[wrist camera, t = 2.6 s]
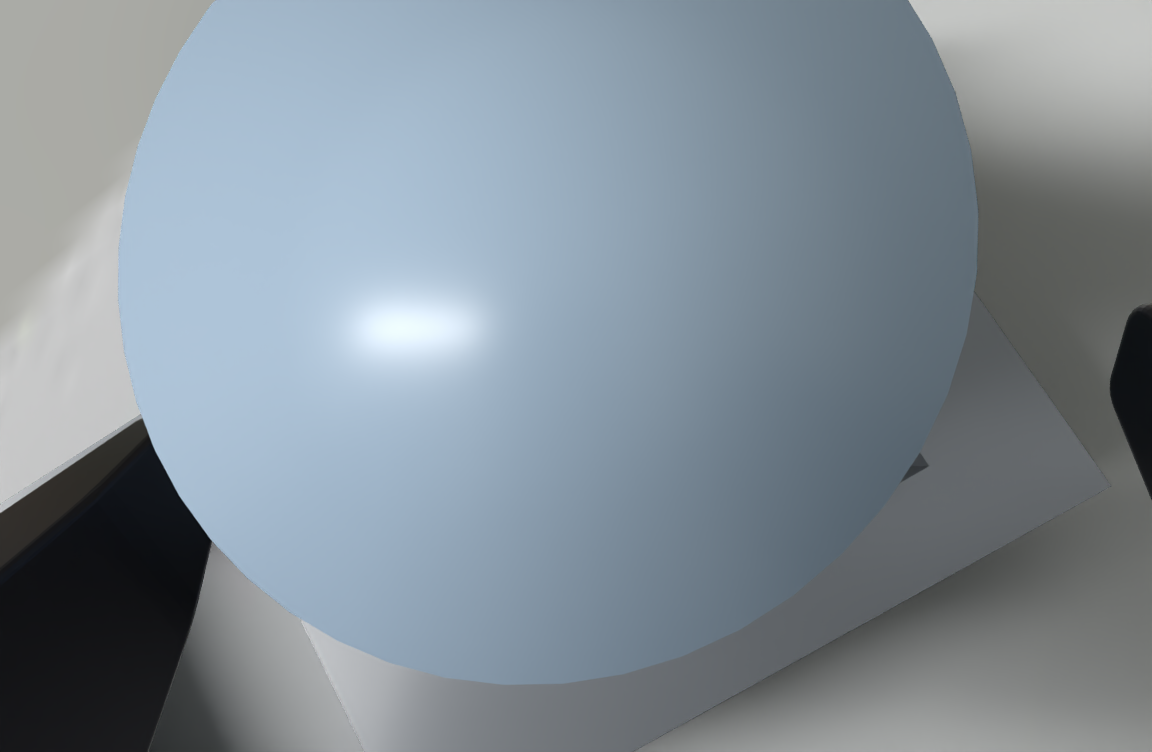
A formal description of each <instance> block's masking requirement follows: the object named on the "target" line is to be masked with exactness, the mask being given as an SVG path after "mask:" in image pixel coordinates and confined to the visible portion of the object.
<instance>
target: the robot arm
mask: <svg viewBox="0 0 1152 752" xmlns="http://www.w3.org/2000/svg"><path fill="white" fill-rule="evenodd" d="M1110 395H1111V400H1112V404H1113V407H1114V409H1115V412H1116V414H1117V417H1118V419H1119V421H1120V424H1121V426H1122V429H1123V431H1124V434H1125V436H1126V439H1127V441H1128V443H1129V446H1130V448H1131V451H1132V453H1133V456H1134V458H1135V460H1136V463H1137V465H1138V468H1139V470H1140V473H1141V475H1142V477H1143V480H1144V482H1145V485H1146V487H1147V490H1148V492H1149V495H1150V497H1151V499H1152V303H1150V304H1143V305H1141V306H1139V307H1137V308H1136V309H1134V310H1133V311H1132V313H1131V314H1130V315H1129V318H1128V320H1127V323H1126V326H1125V330H1124V333H1123V337H1122V340H1121V344H1120V347H1119V350H1118V354H1117V357H1116V361H1115V364H1114V368H1113V371H1112V375H1111V380H1110ZM211 543H212V540H211V539H210V538H209V536H208V535H207V534H206V532H205V531H204V530H203V528H202V527H201V525H200V524H199V523H198V521H197V520H196V518H195V517H194V516H193V514H192V513H191V511H190V510H189V509H188V507H187V506H186V505H185V503H184V502H183V500H182V499H181V498H180V496H179V494H178V492H177V491H176V489H175V487H174V485H173V483H172V481H171V479H170V477H169V476H168V474H167V472H166V470H165V468H164V466H163V464H162V463H161V461H160V459H159V457H158V455H157V453H156V451H155V449H154V447H153V444H152V441H151V439H150V436H149V434H148V431H147V428H146V426H145V423H144V420H143V418H141V419H139V420H137V421H135V422H134V423H132V424H131V425H129V426H128V427H126V428H125V429H123V430H122V431H121V432H119V433H118V434H116V435H115V436H113V437H112V438H110V439H109V440H107V441H106V442H104V443H103V444H101V445H100V446H98V447H97V448H95V449H94V450H92V451H91V452H89V453H88V454H87V455H85V456H84V457H82V458H81V459H79V460H78V461H76V462H75V463H73V464H72V465H70V466H69V467H67V468H66V469H64V470H63V471H61V472H60V473H58V474H57V475H55V476H54V477H53V478H51V479H50V480H48V481H47V482H45V483H44V484H42V485H41V486H39V487H38V488H36V489H35V490H33V491H32V492H30V493H29V494H27V495H26V496H24V497H23V498H21V499H20V500H18V501H17V502H16V503H14V504H13V505H11V506H10V507H8V508H7V509H5V510H4V511H2V512H1V513H0V752H149V749H150V746H151V743H152V740H153V737H154V734H155V732H156V729H157V726H158V723H159V720H160V717H161V714H162V711H163V708H164V705H165V702H166V700H167V697H168V694H169V691H170V688H171V685H172V682H173V679H174V676H175V673H176V670H177V668H178V665H179V662H180V659H181V656H182V653H183V650H184V647H185V644H186V641H187V638H188V635H189V632H190V628H191V625H192V622H193V618H194V615H195V611H196V607H197V603H198V599H199V595H200V591H201V586H202V582H203V578H204V573H205V569H206V565H207V560H208V556H209V552H210V547H211Z"/></svg>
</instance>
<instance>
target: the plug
mask: <svg viewBox="0 0 1152 752" xmlns="http://www.w3.org/2000/svg"><path fill="white" fill-rule="evenodd" d="M977 251H978V203H977V195H976V187H975V179H974V170H973V162H972V154H971V148H970V145H969V141H968V137H967V134H966V130H965V126H964V123H963V119H962V115H961V112H960V108H959V104H958V101H957V97H956V93H955V91H954V88H953V86H952V84H951V82H950V79H949V77H948V75H947V72H946V70H945V68H944V65H943V63H942V61H941V59H940V56H939V54H938V52H937V49H936V47H935V45H934V43H933V40H932V38H931V37H930V35H929V33H928V32H927V30H926V28H925V27H924V25H923V24H922V22H921V20H920V19H919V17H918V16H917V14H916V12H915V11H914V9H913V8H912V6H911V4H910V3H909V1H908V0H215V1H214V2H213V4H212V5H211V6H210V7H209V8H208V10H207V11H206V13H205V14H204V16H203V17H202V19H201V21H200V22H199V23H198V25H197V26H196V28H195V29H194V31H193V32H192V34H191V35H190V37H189V39H188V40H187V41H186V43H185V44H184V46H183V48H182V49H181V51H180V52H179V54H178V56H177V58H176V60H175V62H174V64H173V66H172V68H171V70H170V72H169V74H168V76H167V77H166V79H165V81H164V83H163V85H162V87H161V89H160V91H159V93H158V95H157V97H156V99H155V102H154V105H153V107H152V110H151V113H150V115H149V118H148V121H147V123H146V126H145V129H144V131H143V134H142V137H141V139H140V142H139V145H138V147H137V152H136V156H135V160H134V164H133V168H132V172H131V176H130V180H129V184H128V188H127V192H126V196H125V203H124V210H123V218H122V226H121V234H120V242H119V273H118V301H119V310H120V319H121V328H122V337H123V346H124V353H125V357H126V361H127V365H128V369H129V373H130V377H131V382H132V386H133V390H134V394H135V398H136V402H137V405H138V407H139V410H140V412H141V415H142V418H143V420H144V423H145V426H146V428H147V431H148V434H149V436H150V439H151V441H152V444H153V447H154V449H155V451H156V453H157V455H158V457H159V459H160V461H161V463H162V464H163V466H164V468H165V470H166V472H167V474H168V476H169V477H170V479H171V481H172V483H173V485H174V487H175V489H176V491H177V492H178V494H179V496H180V498H181V499H182V500H183V502H184V503H185V505H186V506H187V507H188V509H189V510H190V511H191V513H192V514H193V516H194V517H195V518H196V520H197V521H198V523H199V524H200V525H201V527H202V528H203V530H204V531H205V532H206V534H207V535H208V536H209V538H210V539H211V540H212V541H213V542H214V543H215V545H216V546H217V547H218V548H219V549H220V550H221V551H222V552H223V553H224V554H225V555H226V556H227V557H228V558H229V559H230V560H231V561H232V562H233V564H234V565H235V566H236V567H237V568H238V569H239V570H240V571H241V572H242V573H243V574H244V575H245V576H246V577H247V578H248V579H249V580H250V581H251V582H253V583H254V584H255V585H256V586H258V587H259V588H260V589H261V590H263V591H264V592H265V593H266V594H268V595H269V596H270V597H271V598H273V599H274V600H275V601H276V602H278V603H279V604H280V605H281V606H283V607H284V608H285V609H286V610H288V611H289V612H290V613H292V614H293V615H295V616H297V617H298V618H300V619H302V620H303V621H305V622H307V623H308V624H310V625H312V626H313V627H315V628H317V629H318V630H320V631H322V632H323V633H325V634H327V635H328V636H330V637H332V638H334V639H335V640H337V641H339V642H341V643H344V644H346V645H348V646H351V647H353V648H355V649H358V650H360V651H363V652H365V653H367V654H370V655H372V656H374V657H377V658H379V659H381V660H384V661H386V662H389V663H392V664H395V665H399V666H403V667H407V668H410V669H414V670H418V671H422V672H425V673H429V674H433V675H437V676H440V677H444V678H451V679H459V680H468V681H476V682H484V683H492V684H500V685H524V684H565V683H571V682H578V681H584V680H590V679H597V678H603V677H609V676H616V675H622V674H626V673H629V672H633V671H636V670H639V669H642V668H646V667H649V666H652V665H656V664H659V663H662V662H665V661H669V660H672V659H675V658H679V657H682V656H684V655H687V654H689V653H691V652H693V651H695V650H697V649H699V648H702V647H704V646H706V645H708V644H710V643H712V642H715V641H717V640H719V639H721V638H723V637H725V636H728V635H730V634H732V633H734V632H736V631H738V630H740V629H742V628H743V627H745V626H747V625H748V624H750V623H751V622H753V621H754V620H756V619H757V618H759V617H761V616H762V615H764V614H765V613H767V612H768V611H770V610H772V609H773V608H775V607H776V606H778V605H779V604H781V603H782V602H784V601H786V600H787V599H789V598H790V597H792V596H793V595H794V594H796V593H797V592H798V591H799V590H800V589H801V588H803V587H804V586H805V585H806V584H807V583H808V582H810V581H811V580H812V579H813V578H814V577H815V576H817V575H818V574H819V573H820V572H821V571H822V570H824V569H825V568H826V567H827V566H828V565H829V564H831V563H832V562H833V561H834V560H835V559H836V558H838V557H839V556H840V555H841V554H842V553H843V552H844V551H845V550H846V549H847V548H848V546H849V545H850V544H851V543H852V542H853V541H854V540H855V538H856V537H857V536H858V535H859V534H860V533H861V532H862V531H863V529H864V528H865V527H866V526H867V525H868V524H869V523H870V522H871V520H872V519H873V518H874V517H875V516H876V515H877V514H878V512H879V511H880V510H881V509H882V508H883V507H884V506H885V504H886V503H887V501H888V500H889V498H890V497H891V495H892V494H893V492H894V491H895V489H896V488H897V486H898V485H899V483H900V482H901V480H902V479H903V477H904V476H905V474H906V473H907V471H908V470H909V468H910V467H911V465H912V464H913V462H914V461H915V459H916V458H917V456H918V454H919V453H920V451H921V449H922V447H923V445H924V443H925V441H926V439H927V437H928V434H929V432H930V430H931V428H932V426H933V424H934V422H935V420H936V418H937V416H938V414H939V412H940V409H941V407H942V405H943V403H944V401H945V399H946V397H947V395H948V392H949V389H950V385H951V382H952V379H953V376H954V373H955V370H956V367H957V363H958V360H959V357H960V354H961V351H962V348H963V344H964V341H965V338H966V335H967V330H968V324H969V318H970V312H971V306H972V300H973V294H974V288H975V282H976V276H977Z"/></svg>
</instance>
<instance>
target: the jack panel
mask: <svg viewBox="0 0 1152 752" xmlns="http://www.w3.org/2000/svg"><path fill="white" fill-rule="evenodd" d="M141 418H142V415H141V414H140V415H139V416H137V417H136V418H134V419H132V420H131V421H129V422H128V423H126V424H125V425H123V426H121V427H120V428H118V429H117V430H115V431H114V432H112V433H111V434H109V435H107V436H106V437H104V438H103V439H101V440H100V441H98V442H96V443H95V444H93V445H92V446H90V447H89V448H87V449H85V450H84V451H82V452H81V453H79V454H78V455H76V456H74V457H73V458H71V459H70V460H68V461H67V462H65V463H63V464H62V465H60V466H59V467H57V468H56V469H54V470H53V471H51V472H49V473H48V474H46V475H45V476H43V477H42V478H40V479H38V480H37V481H35V482H34V483H32V484H31V485H29V486H27V487H26V488H24V489H23V490H21V491H20V492H18V493H16V494H15V495H13V496H12V497H10V498H9V499H7V500H5V501H4V502H2V503H1V504H0V513H1V512H2V511H4V510H5V509H7V508H8V507H10V506H11V505H13V504H14V503H16V502H17V501H18V500H20V499H21V498H23V497H24V496H26V495H27V494H29V493H30V492H32V491H33V490H35V489H36V488H38V487H39V486H41V485H42V484H44V483H45V482H47V481H48V480H50V479H51V478H53V477H54V476H55V475H57V474H58V473H60V472H61V471H63V470H64V469H66V468H67V467H69V466H70V465H72V464H73V463H75V462H76V461H78V460H79V459H81V458H82V457H84V456H85V455H87V454H88V453H89V452H91V451H92V450H94V449H95V448H97V447H98V446H100V445H101V444H103V443H104V442H106V441H107V440H109V439H110V438H112V437H113V436H115V435H116V434H118V433H119V432H121V431H122V430H123V429H125V428H126V427H128V426H129V425H131V424H132V423H134V422H135V421H137V420H139V419H141ZM1109 487H1111V485H1110V483H1109V482H1108V480H1107V479H1106V478H1105V476H1104V475H1103V473H1102V472H1101V470H1100V469H1099V468H1098V466H1097V465H1096V463H1095V462H1094V461H1093V459H1092V458H1091V456H1090V455H1089V453H1088V452H1087V451H1086V449H1085V448H1084V446H1083V445H1082V443H1081V442H1080V441H1079V439H1078V438H1077V436H1076V435H1075V434H1074V432H1073V431H1072V429H1071V428H1070V426H1069V425H1068V424H1067V422H1066V421H1065V419H1064V418H1063V417H1062V415H1061V414H1060V412H1059V411H1058V409H1057V408H1056V407H1055V405H1054V404H1053V402H1052V401H1051V399H1050V398H1049V397H1048V395H1047V394H1046V392H1045V391H1044V390H1043V388H1042V387H1041V385H1040V384H1039V382H1038V381H1037V380H1036V378H1035V377H1034V375H1033V374H1032V372H1031V371H1030V370H1029V368H1028V367H1027V365H1026V364H1025V363H1024V361H1023V360H1022V358H1021V357H1020V355H1019V354H1018V353H1017V351H1016V350H1015V348H1014V347H1013V346H1012V344H1011V343H1010V341H1009V340H1008V338H1007V337H1006V336H1005V334H1004V333H1003V331H1002V330H1001V328H1000V327H999V326H998V324H997V323H996V321H995V320H994V319H993V317H992V316H991V314H990V313H989V311H988V310H987V309H986V307H985V306H984V304H983V303H982V301H981V300H980V299H979V297H978V296H977V294H976V293H975V292H974V294H973V300H972V306H971V312H970V318H969V324H968V330H967V335H966V338H965V341H964V344H963V348H962V351H961V354H960V357H959V360H958V363H957V367H956V370H955V373H954V376H953V379H952V382H951V385H950V389H949V392H948V395H947V397H946V399H945V401H944V403H943V405H942V407H941V409H940V412H939V414H938V416H937V418H936V420H935V422H934V424H933V426H932V428H931V430H930V432H929V434H928V437H927V439H926V441H925V443H924V445H923V447H922V449H921V451H920V453H919V454H918V456H917V458H916V459H915V461H914V462H913V464H912V465H911V467H910V468H909V470H908V471H907V473H906V474H905V476H904V477H903V479H902V480H901V482H900V483H899V485H898V486H897V488H896V489H895V491H894V492H893V494H892V495H891V497H890V498H889V500H888V501H887V503H886V504H885V506H884V507H883V508H882V509H881V510H880V511H879V512H878V514H877V515H876V516H875V517H874V518H873V519H872V520H871V522H870V523H869V524H868V525H867V526H866V527H865V528H864V529H863V531H862V532H861V533H860V534H859V535H858V536H857V537H856V538H855V540H854V541H853V542H852V543H851V544H850V545H849V546H848V548H847V549H846V550H845V551H844V552H843V553H842V554H841V555H840V556H839V557H838V558H836V559H835V560H834V561H833V562H832V563H831V564H829V565H828V566H827V567H826V568H825V569H824V570H822V571H821V572H820V573H819V574H818V575H817V576H815V577H814V578H813V579H812V580H811V581H810V582H808V583H807V584H806V585H805V586H804V587H803V588H801V589H800V590H799V591H798V592H797V593H796V594H794V595H793V596H792V597H790V598H789V599H787V600H786V601H784V602H782V603H781V604H779V605H778V606H776V607H775V608H773V609H772V610H770V611H768V612H767V613H765V614H764V615H762V616H761V617H759V618H757V619H756V620H754V621H753V622H751V623H750V624H748V625H747V626H745V627H743V628H742V629H740V630H738V631H736V632H734V633H732V634H730V635H728V636H725V637H723V638H721V639H719V640H717V641H715V642H712V643H710V644H708V645H706V646H704V647H702V648H699V649H697V650H695V651H693V652H691V653H689V654H687V655H684V656H682V657H679V658H675V659H672V660H669V661H665V662H662V663H659V664H656V665H652V666H649V667H646V668H642V669H639V670H636V671H633V672H629V673H626V674H622V675H616V676H609V677H603V678H597V679H590V680H584V681H578V682H571V683H565V684H524V685H500V684H492V683H484V682H476V681H468V680H459V679H451V678H444V677H440V676H437V675H433V674H429V673H425V672H422V671H418V670H414V669H410V668H407V667H403V666H399V665H395V664H392V663H389V662H386V661H384V660H381V659H379V658H377V657H374V656H372V655H370V654H367V653H365V652H363V651H360V650H358V649H355V648H353V647H351V646H348V645H346V644H344V643H341V642H339V641H337V640H335V639H334V638H332V637H330V636H328V635H327V634H325V633H323V632H322V631H320V630H318V629H317V628H315V627H313V626H312V625H310V624H308V623H307V622H305V621H303V620H302V619H300V620H301V622H302V624H303V627H304V629H305V631H306V633H307V635H308V637H309V639H310V641H311V643H312V645H313V647H314V649H315V651H316V653H317V656H318V658H319V660H320V662H321V664H322V666H323V668H324V670H325V672H326V674H327V676H328V678H329V680H330V682H331V684H332V687H333V689H334V691H335V693H336V695H337V697H338V699H339V701H340V703H341V705H342V707H343V709H344V711H345V713H346V716H347V718H348V720H349V722H350V724H351V726H352V728H353V730H354V732H355V734H356V736H357V738H358V740H359V742H360V744H361V747H362V749H363V751H364V752H633V751H635V750H637V749H639V748H641V747H642V746H644V745H646V744H648V743H650V742H651V741H653V740H655V739H657V738H659V737H660V736H662V735H664V734H666V733H668V732H669V731H671V730H673V729H675V728H677V727H678V726H680V725H682V724H684V723H686V722H688V721H689V720H691V719H693V718H695V717H697V716H698V715H700V714H702V713H704V712H706V711H707V710H709V709H711V708H713V707H715V706H716V705H718V704H720V703H722V702H724V701H725V700H727V699H729V698H731V697H733V696H734V695H736V694H738V693H740V692H742V691H743V690H745V689H747V688H749V687H751V686H752V685H754V684H756V683H758V682H760V681H761V680H763V679H765V678H767V677H769V676H770V675H772V674H774V673H776V672H778V671H779V670H781V669H783V668H785V667H787V666H788V665H790V664H792V663H794V662H796V661H797V660H799V659H801V658H803V657H805V656H806V655H808V654H810V653H812V652H814V651H815V650H817V649H819V648H821V647H823V646H824V645H826V644H828V643H830V642H832V641H833V640H835V639H837V638H839V637H841V636H842V635H844V634H846V633H848V632H850V631H851V630H853V629H855V628H857V627H859V626H860V625H862V624H864V623H866V622H868V621H869V620H871V619H873V618H875V617H877V616H878V615H880V614H882V613H884V612H886V611H887V610H889V609H891V608H893V607H895V606H896V605H898V604H900V603H902V602H904V601H905V600H907V599H909V598H911V597H913V596H914V595H916V594H918V593H920V592H922V591H923V590H925V589H927V588H929V587H931V586H932V585H934V584H936V583H938V582H940V581H942V580H943V579H945V578H947V577H949V576H951V575H952V574H954V573H956V572H958V571H960V570H961V569H963V568H965V567H967V566H969V565H970V564H972V563H974V562H976V561H978V560H979V559H981V558H983V557H985V556H987V555H988V554H990V553H992V552H994V551H996V550H997V549H999V548H1001V547H1003V546H1005V545H1006V544H1008V543H1010V542H1012V541H1014V540H1015V539H1017V538H1019V537H1021V536H1023V535H1024V534H1026V533H1028V532H1030V531H1032V530H1033V529H1035V528H1037V527H1039V526H1041V525H1042V524H1044V523H1046V522H1048V521H1050V520H1051V519H1053V518H1055V517H1057V516H1059V515H1060V514H1062V513H1064V512H1066V511H1068V510H1069V509H1071V508H1073V507H1075V506H1077V505H1078V504H1080V503H1082V502H1084V501H1086V500H1087V499H1089V498H1091V497H1093V496H1095V495H1096V494H1098V493H1100V492H1102V491H1104V490H1105V489H1107V488H1109Z"/></svg>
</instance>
